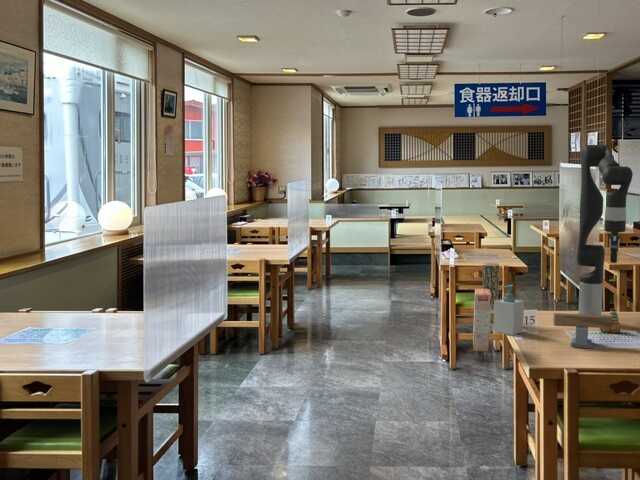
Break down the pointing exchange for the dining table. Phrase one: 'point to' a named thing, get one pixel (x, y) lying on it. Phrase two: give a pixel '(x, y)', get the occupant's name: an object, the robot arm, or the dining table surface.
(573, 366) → the dining table surface
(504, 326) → the soap bottle
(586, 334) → the fulcrum ridge
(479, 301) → the cracker box
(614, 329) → the ornament
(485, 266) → the bark textured block
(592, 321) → the walnut bar
